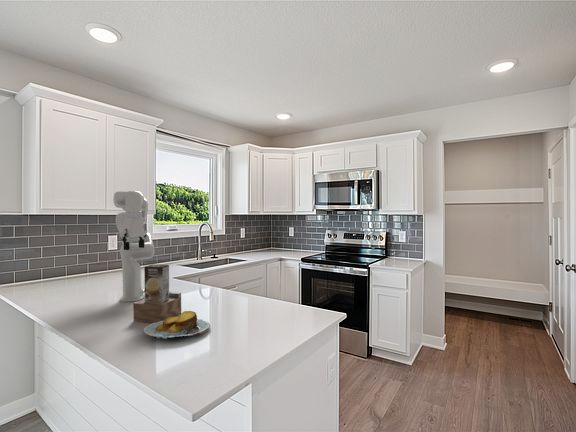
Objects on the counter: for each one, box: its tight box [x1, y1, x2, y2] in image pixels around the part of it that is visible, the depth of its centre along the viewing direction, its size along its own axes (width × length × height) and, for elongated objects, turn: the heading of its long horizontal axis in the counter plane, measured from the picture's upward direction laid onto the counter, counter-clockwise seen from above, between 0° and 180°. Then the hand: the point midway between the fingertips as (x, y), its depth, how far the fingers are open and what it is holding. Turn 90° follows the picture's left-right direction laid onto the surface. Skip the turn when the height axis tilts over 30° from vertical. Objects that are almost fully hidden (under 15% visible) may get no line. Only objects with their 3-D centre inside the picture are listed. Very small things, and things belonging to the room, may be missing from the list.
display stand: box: [132, 291, 182, 324], centre depth 144 cm, size 15×14×10 cm
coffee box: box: [143, 264, 170, 302], centre depth 144 cm, size 9×6×16 cm
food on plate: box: [142, 310, 211, 340], centre depth 126 cm, size 25×25×7 cm
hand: (134, 248), depth 160 cm, fingers open, 9 cm apart
